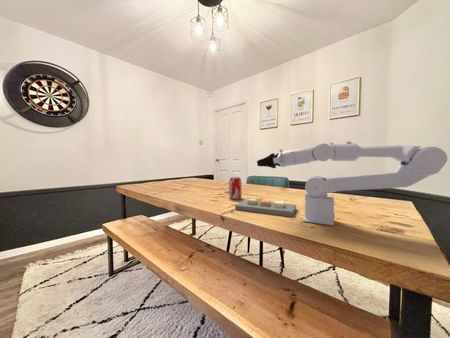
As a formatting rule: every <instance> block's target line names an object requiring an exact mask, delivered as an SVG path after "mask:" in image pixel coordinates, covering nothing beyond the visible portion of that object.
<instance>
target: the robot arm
mask: <svg viewBox="0 0 450 338" xmlns="http://www.w3.org/2000/svg"><path fill="white" fill-rule="evenodd" d="M362 157H364V158H392V159H393V160H396V161H398V162H400V164H399V165H398V166H397V167H396V168H395V169H394V170H393V171H391V172H389V171H388V172H379V173H368V174H358V175H348V176H347V175H346V176H337V177H335V176H334V177H333V176H332V177H329V176H328V177H324V176H319V175H315V176H314V175H313V176H311V177H310V178H308V179H307V181H306V182H305V185H304V189H305V193H304V214H303V217H302V222H306V223H313V224H320V225H328V226H334V223H335V222H334V221H335V220H334V219H335V211H334V210H335V200H334V199H335V197H333V196H328V194H331V193H336V192H344V191H346V192H347V191H361V190H378V189H379V190H380V189H397V188H407V187H411V186H413V185H415V184H417V183H419V182H420V181H423V180H424V179H425V178H428V177H430V176H432V175H436V174H438V173H440V171H441V170H442V168H443V167H444V166H445V165H446V164H447V162H448V154H447V153H446V152H445V150H443V149H442V148H440V147H437V146H426V147H425V146H424V147H422V146H420V145H404V144H403V145H398V144H397V145H381V146H380V145H379V146H364V147H361V146H359V145H358V144H357V143H352V141H346V142H345V143H334V142H330V143H329V144H328V143H321V144H317V145H316V146H309V147H302V148H296V149H290V150H284V151H283V149H282V148H280V149H279V152H277V154H275V153H271V154H269V155H267V156H266V157H263V158H261V159H258V160H256V164H257V167H266V168H267V167H269V168H271V169H276V168H277V166H278V167H282V168H285V167H290V166H296V165H303V164H309V163H311V162H317V161H319V162H326V161H328V160H331V161H332V162H333V161H334V162H354V161H355V162H356V160H357V159H359V158H362Z"/></svg>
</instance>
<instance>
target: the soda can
mask: <svg viewBox="0 0 450 338" xmlns="http://www.w3.org/2000/svg"><path fill="white" fill-rule="evenodd" d="M228 188H229V189H228V190H229V191H228V196H229V198H231V199H232V200H238V199H239V200H240V199H241V198H242V179H241V177H240V176H230V178H229V180H228Z"/></svg>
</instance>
